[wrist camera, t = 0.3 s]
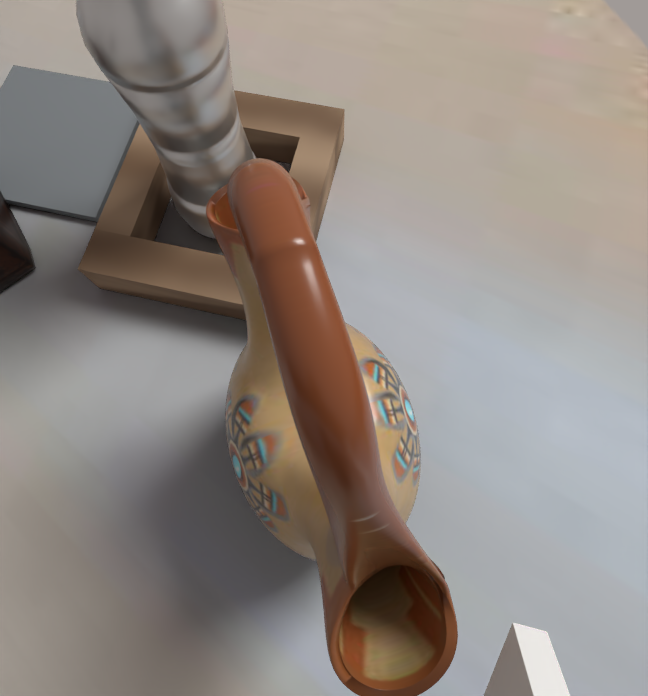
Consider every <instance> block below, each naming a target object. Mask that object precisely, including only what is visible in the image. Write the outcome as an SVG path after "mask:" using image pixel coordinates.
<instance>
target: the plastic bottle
mask: <svg viewBox="0 0 648 696" xmlns="http://www.w3.org/2000/svg"><path fill="white" fill-rule="evenodd" d="M76 13H77V18H78V22H79V26H80V31H81V35H82V38H83V41H84V44H85V46H86V48H87V49H88V51H89V52H90V54H91V55H92V57H93V58H94V60H95V62H96V63H97V65H98V66H99V68H100V69H101V71H102V72H103V73H104V74H105V76H106V77H107V78H108V80H109V81H110V82H111V84H112V85H113V86H114V88H115V89H116V90H117V92H118V93H119V94H120V96H121V97H122V98H123V100H124V101H125V102H126V104H127V105H128V106H129V108H130V109H131V110H132V112H133V113H134V115H135V116H136V118H137V120H138V121H139V123H140V125H141V126H142V128H143V130H144V131H145V133H146V134H147V136H148V138H149V140H150V141H151V143H152V144H153V146H154V148H155V150H156V153H157V155H158V158H159V160H160V162H161V165H162V167H163V170H164V172H165V175H166V177H167V183H168V188H169V191H170V194H171V197H172V200H173V203H174V205H175V208H176V210H177V211H178V213H179V214H180V216H181V217H182V218H183V219H184V220H185V221H186V222H187V223H188V224H189V225H190V226H191V227H192V228H193V229H194V230H195V231H197V232H198V233H200V234H202V235H204V236H207V237H210V238H215V236H214V234H213V231H212V229H211V227H210V225H209V222H208V219H207V216H206V206H207V203H208V201H209V199H210V198H211V197H212V196H213V194H215V193H216V192H217V191H218V190H219V189H220V188H222V187H223V186H225V185H227V184H228V181H229V179H230V176H231V175H232V173H233V172H234V170H235V169H236V168H237V167H238V166H239V165H241V164H242V163H244V162H246V161H248V160H251V159H256V156H255V155H254V153H253V151H252V150H251V148H250V145H249V142H248V140H247V137H246V134H245V132H244V129H243V126H242V124H241V121H240V117H239V112H238V107H237V102H236V97H235V92H234V87H233V81H232V71H231V60H230V50H229V39H228V29H227V24H226V18H225V12H224V7H223V3H222V0H76ZM215 239H216V238H215Z"/></svg>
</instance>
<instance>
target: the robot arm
mask: <svg viewBox="0 0 648 696" xmlns="http://www.w3.org/2000/svg"><path fill="white" fill-rule="evenodd" d="M484 696H570V694H569V691H568V688H567V686H566V683H565V680H564V677H563V674H562V672H561V669H560V666H559V663H558V661H557V658H556V655H555V652H554V649H553V647H552V644H551V641H550V638H549V636H548V633H547V632H546V631H543V630H539V629H535V628H531V627H528V626H524V625H520V624H516V623H512V626H511V628H510V631H509V633H508V636H507V638H506V641H505V643H504V646H503V648H502V651H501V653H500V656H499V658H498V661H497V663H496V666H495V668H494V671H493V674H492V676H491V679H490V681H489V684H488V686H487V689H486V691H485V694H484Z"/></svg>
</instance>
